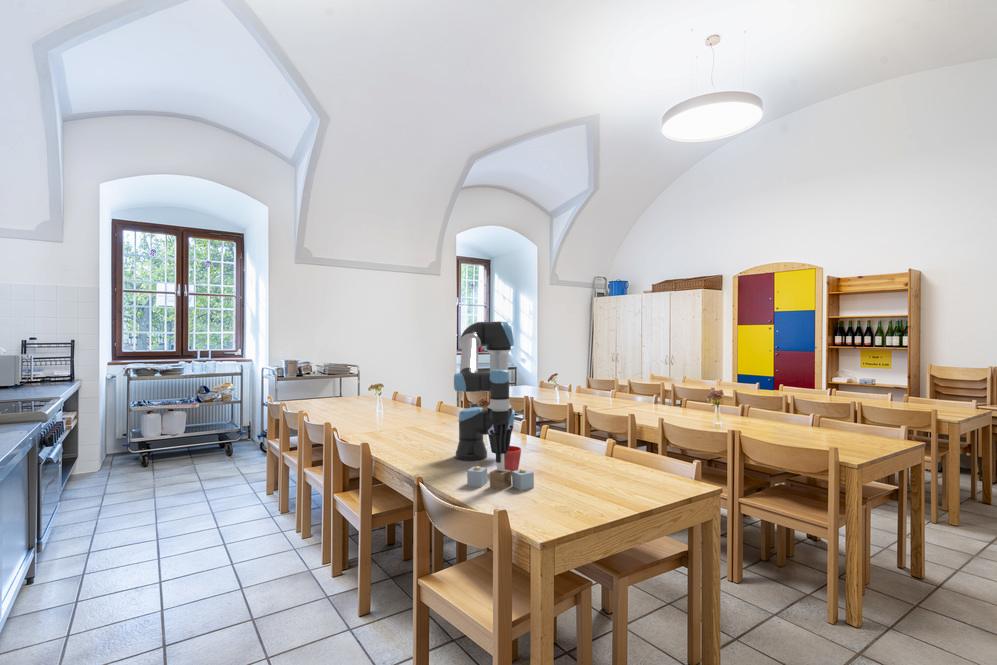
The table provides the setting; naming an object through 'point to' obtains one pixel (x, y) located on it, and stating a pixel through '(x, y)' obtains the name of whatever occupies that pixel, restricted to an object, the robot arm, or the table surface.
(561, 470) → the table surface
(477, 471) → the stud block
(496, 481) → the walnut block
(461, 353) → the robot arm
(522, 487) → the stud block
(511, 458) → the flower pot
